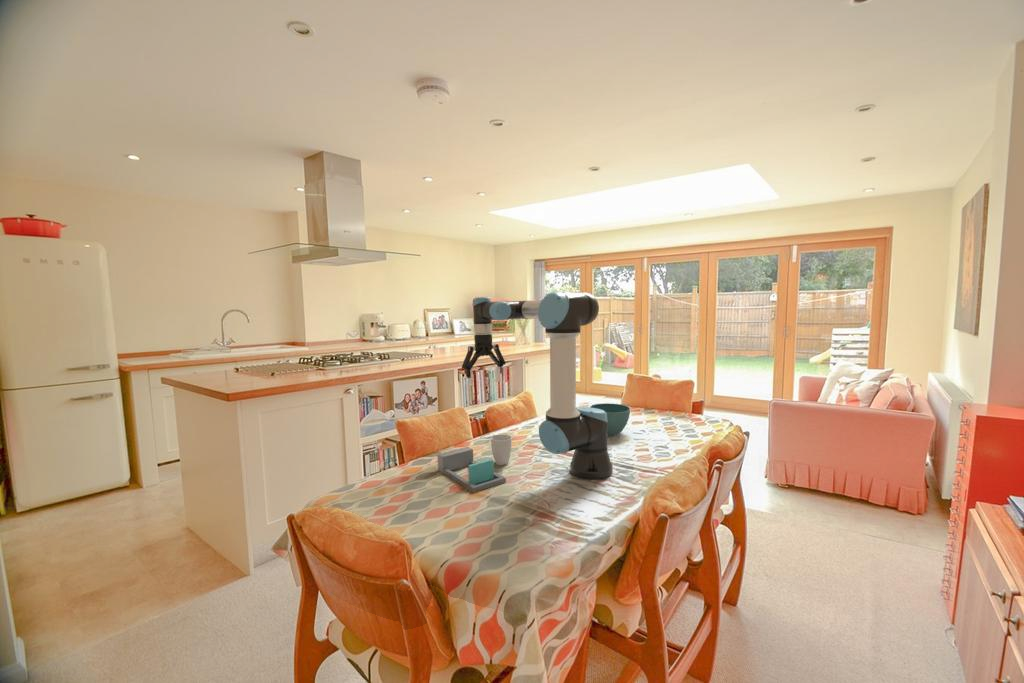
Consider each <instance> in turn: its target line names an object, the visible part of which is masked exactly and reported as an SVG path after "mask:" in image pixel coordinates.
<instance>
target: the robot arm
mask: <svg viewBox="0 0 1024 683" xmlns="http://www.w3.org/2000/svg"><path fill="white" fill-rule="evenodd" d="M472 309H473V333H474V340H473V341H474V346H470V345H468V346H467V353H466V355H465V358H464V360H463V363H462V365H461V369H462V370H465V371H466V375H465V376H466V378H467V379H468V380H467V381H468V382H467V383H468V386H470V387H473V386H474V373H473V369H472V368H473V367H474V365H475V364H476V363H477V361H478V359H479V358H481V357H484V356H488V357H489V358H490V359H491V360H492V361H493V362H494V364H495V365H496V366H495V382H496V383H497V382H498V383H499V382H501V381H502V380H501V377H502V376H501V374H502V372H503V371H502V370H503V367H504V365H506V360H505V359H504V356H503V355H502V353H501V352H502V351H501V350H500V345H499V344H498V343H494V344H493V334H492V333H493V326H492V325H493V322H492V321H498V322H499V321H506V320H526V319H527V320H529V319H531V320H532V319H534V320H538V321H539V323H540V325H541V326H542V328H545V332H544V333H545V335H546V336H548V338H549V359H550V360H549V364H550V365H549V391H550V392H549V402H550V405H549V406H550V408H548V409H547V410H546V411H545V420H543V421H542V422H541V423H540V424H539V427H538V436H539V440H540V442H541V444H542V445H543V447H544V448H545V450H546V451H547V452H549V453H550V454H553V455H561V454H567V453H569V452H572V451H573V455H572V458H571V462H570V465H569V467H570V468H569V470H570V473H571V474H572V475H573V476H575V477H578V478H582V479H585V480H586V479H587V480H588V479H589V480H600V479H605V478H609V477H610V476H612V474H613V471H614V470H613V464H612V462H611V458H610V455H609V452H608V436H607V431H608V421H607V414H606V412H605V411H604V410H601V409H597V408H590V406H589V407H588V406H577V404H576V403H577V397H576V394H577V390H576V389H577V387H576V385H577V384H576V383H577V382H576V381H577V380H576V378H577V377H576V376H577V374H576V373H577V368H576V367H577V365H576V364H577V343H576V342H577V337H578V336H579V335H581V329H582V328H581V327H582V326H584V327H585V326H587V325H590V324H591V323H593V322H594V321H595V320H596V319H597V318H598V316H599V311H600V305H599V302H598V299H597V298H596V297H595V296H594V295H592V294H591V293H588V292H585V291H556V292H555V291H554V292H550V293H547V294H546V295H545V296H543V299H535V300H534V299H533V300H511V301H509V300H508V301H506V300H499V301H498V300H496V301H492V300H491V297H489V296H488V297H487V296H484V297H483V296H482V297H481V296H479V297H474V299H473V304H472ZM492 350H494V352H493V351H492ZM474 351H475V352H474ZM473 353H474V354H473ZM494 353H495V354H494Z"/></svg>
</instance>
